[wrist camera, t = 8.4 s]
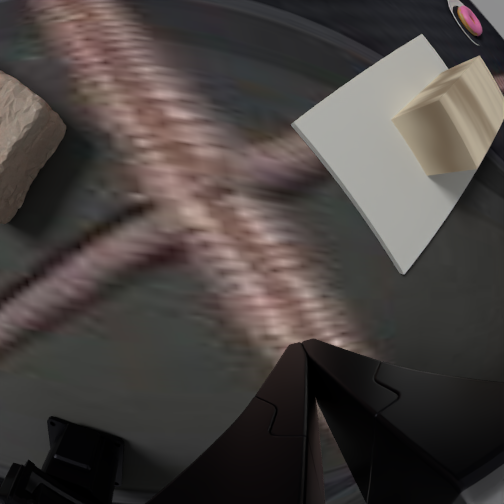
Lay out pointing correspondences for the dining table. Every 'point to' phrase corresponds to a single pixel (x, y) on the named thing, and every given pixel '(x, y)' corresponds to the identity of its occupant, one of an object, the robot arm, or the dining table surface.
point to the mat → (384, 152)
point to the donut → (466, 18)
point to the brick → (23, 141)
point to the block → (453, 119)
